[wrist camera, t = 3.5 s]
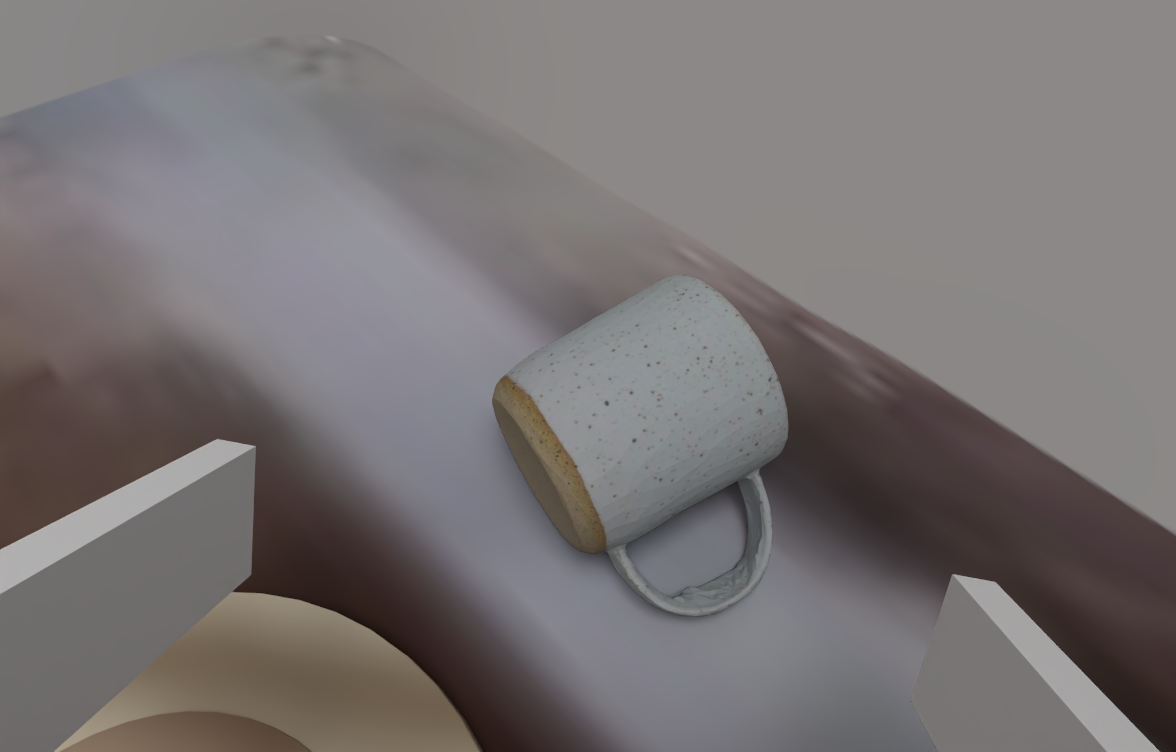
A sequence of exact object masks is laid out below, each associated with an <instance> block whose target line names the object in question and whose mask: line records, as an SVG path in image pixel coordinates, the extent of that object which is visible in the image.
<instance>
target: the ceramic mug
mask: <svg viewBox="0 0 1176 752" xmlns="http://www.w3.org/2000/svg"><path fill="white" fill-rule="evenodd" d="M492 404H493V408H494V412H495V416H496V419H497V422H498V424H499V427H500V429H501V431H502V434H503V436H504V438H505V440H506V442H507V444H508V446H509V448H510V450H511V452H512V454H513V456H514V458H515V460H516V462H517V464H518V466H519V468H520V470H521V471H522V473H523V475H524V477H525V479H526V480H527V482H528V484H529V486H530V488H531V489H532V491H533V492H534V494H535V496H536V497H537V499H538V501H539V502H540V504H541V505H542V507H543V509H544V510H545V511H546V513H547V514H548V516H549V517H550V519H551V520H552V522H553V523H554V525H555V526H556V527H557V529H558V530H559V531H560V533H561V534H562V535H563V536H564V537H565V539H566V540H567V541H568V542H569V543H570V544H571V545H572V546H573V547H575V548H577V549H579V550H580V551H583V552H587V553H592V554H597V553H601V552H608V554H609V556H610V559H611V560H612V562H613V565H614V567H615V569H616V570H617V572H618V573H619V574H620V575H621V577H622V578H623V579H624V580H625V581H626V582H627V583H628V584H629V585H630V587H631V588H632V589H633V590H634V591H635V592H636V593H637V594H638V595H639V596H641V597H642V598H644V599H645V600H646V601H648V602H649V603H651V604H652V605H654V606H656V607H658V608H660V609H662V610H664V611H666V612H670V613H673V614H677V615H683V616H703V615H707V614H713V613H716V612H718V611H721V610H723V609H725V608H727V607H729V606H730V605H732V604H734V603H736V602H738V601H739V600H741V599H742V598H743V597H745V596H746V595H747V594H748V593H749V592H750V591H751V590H752V589H753V588H754V587H755V586H756V585H757V584H758V582H759V581H760V580H761V578H762V576H763V574H764V572H765V570H766V567H767V564H768V561H769V556H770V552H771V547H772V518H771V510H770V506H769V502H768V499H767V495H766V490H765V488H764V485H763V482H762V478H761V476H760V474H759V469H760V468H761V467H762V466H763V465H765V464H767V463H768V462H770V461H771V460H773V459H774V458H775V457H777V456H778V455H779V454H780V453H781V451H782V450H783V447H784V445H785V443H786V441H787V434H788V416H787V407H786V404H785V399H784V395H783V392H782V389H781V385H780V383H779V379H778V376H777V374H776V372H775V370H774V368H773V366H772V364H771V362H770V360H769V357H768V355H767V353H766V352H765V350H764V348H763V346H762V344H761V343H760V341H759V339H758V337H757V336H756V335H755V333H754V332H753V330H752V329H751V327H750V326H749V325H748V323H747V322H746V321H745V319H744V318H743V317H742V316H741V314H740V313H739V312H738V311H737V310H736V309H735V307H734V306H733V305H732V304H731V303H730V302H729V301H728V300H727V299H725V298H724V297H723V296H722V295H721V294H720V293H719V292H718V291H716V290H715V289H713V288H712V287H710V286H709V285H707V284H706V283H704V282H703V281H701V280H699V279H697V278H694V277H691V276H687V275H675V276H670V277H666V278H664V279H662V280H660V281H658V282H656V283H655V284H653V285H651V286H650V287H648V288H646V289H644V290H643V291H641V292H640V293H638V294H637V295H635V296H633V297H631V298H629V299H627V300H626V301H624V302H622V303H620V304H619V305H617V306H615V307H613V308H612V309H610V310H608V311H607V312H605V313H603V314H601V315H599V316H597V317H596V318H594V319H592V320H591V321H589V322H587V323H586V324H584V325H582V326H581V327H579V328H578V329H576V330H574V331H572V332H571V333H569V334H567V335H565V336H563V337H561V338H559V339H557V340H556V341H554V342H552V343H550V344H548V345H546V346H545V347H543V348H541V349H539V350H538V351H536V352H534V353H533V354H531V355H530V356H528V357H527V358H525V359H524V360H523V361H521V362H520V363H519V364H518V365H517V366H515V367H514V368H513V369H512V370H511V371H509V372H508V373H507V374H506V375H505V376H503V377H502V378H501V379H500V381H499V382H498V383H497V385H496V387H495V390H494V394H493V399H492ZM736 481H738V483H739V487H740V490H741V492H742V495H743V499H744V503H745V507H746V513H747V521H748V528H749V529H748V539H747V546H746V549H745V553H744V556H743V557H742V559H741V561H740V562H738V563H737V565H736V566H735V568H734V569H733V570H732V571H730V572H727V573H726V574H724V575H722V576H720V577H718V578H716V579H715V580H713V581H711V582H709V583H707V584H705V585H702V586H699V587H697V588H694V587H687V588H686V589H685V590H683V591H682V593H681V595H679V596H675V597H668V596H666V595H664V594H662V593H660V592H659V591H657V590H656V589H653V588H651V587H650V586H649V584H648V583H647V582H646V580H645V579H644V578H643V577H642V575H641V574H640V573H639V572H638V570H637V569H636V568H635V567H634V565H633V563H632V560H631V559H630V558H629V556H628V555H627V552H626V548H625V547H626V545H627V544H628V543H629V542H631V541H633V540H635V539H637V538H639V537H641V536H643V535H645V534H646V533H648V532H650V531H651V530H653V529H655V528H656V527H658V526H659V525H661V524H663V523H664V522H666V521H667V520H668V519H670V518H671V517H673V516H675V515H676V514H678V513H680V512H682V511H684V510H685V509H687V508H689V507H691V506H693V505H695V504H696V503H699V502H701V501H702V500H704V499H706V498H707V497H709V496H711V495H713V494H714V493H716V492H719V491H721V490H722V489H724V488H725V487H727V486H729V485H731V484H733V483H735V482H736Z"/></svg>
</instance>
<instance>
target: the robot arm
mask: <svg viewBox="0 0 1176 752" xmlns="http://www.w3.org/2000/svg"><path fill="white" fill-rule="evenodd" d="M255 450H256V446H251V445H246V444H240V443H235V442H230V441H224V440H219V439H216V440H214V441H213V442H211V443H209V444H207V445H205V446H203V447H201V448H199V449H197V450H195V451H193V452H191V453H189V454H187V455H185V456H183V457H181V458H179V459H177V460H175V461H173V462H171V463H169V464H167V465H165V466H164V467H162V468H160V469H158V470H156V471H154V472H152V473H150V474H148V475H146V476H144V477H142V478H140V479H138V480H136V481H134V482H132V483H130V484H128V485H126V486H124V487H122V488H120V489H118V490H116V491H114V492H113V493H111V494H109V495H107V496H105V497H103V498H101V499H99V500H97V501H95V502H93V503H91V504H89V505H87V506H85V507H83V508H81V509H79V510H77V511H75V512H73V513H71V514H69V515H67V516H65V517H64V518H62V519H60V520H58V521H56V522H54V523H52V524H50V525H48V526H46V527H44V528H42V529H40V530H38V531H36V532H34V533H32V534H30V535H28V536H26V537H24V538H22V539H20V540H18V541H16V542H14V543H13V544H11V545H9V546H7V547H5V548H3V549H1V550H0V752H54V751H55V750H56V749H57V748H58V747H60V746H61V745H62V744H63V743H64V742H65V741H66V740H67V739H68V738H70V737H71V736H72V735H73V734H74V733H75V732H76V731H77V730H78V729H80V728H81V727H82V726H83V725H84V724H85V723H86V722H87V721H88V720H90V719H91V718H92V717H93V716H94V715H95V714H96V713H97V712H99V711H100V710H101V709H102V708H103V707H104V706H105V705H106V704H107V703H109V702H110V701H111V700H112V699H113V698H114V697H115V696H116V695H117V694H119V693H120V692H121V691H122V690H123V689H124V688H125V687H126V686H127V685H129V684H130V683H131V682H132V681H133V680H134V679H135V678H136V677H138V676H139V675H140V674H141V673H142V672H143V671H144V670H145V669H146V668H148V667H149V666H150V665H151V664H152V663H153V662H154V661H155V660H156V659H158V658H159V657H160V656H161V655H162V654H163V653H164V652H165V651H166V650H168V649H169V648H170V647H171V646H172V645H173V644H174V643H175V642H176V641H178V640H179V639H180V638H181V637H182V636H183V635H184V634H185V633H187V632H188V631H189V630H190V629H191V628H192V627H193V626H194V625H195V624H197V623H198V622H199V621H200V620H201V619H202V618H203V617H204V616H205V615H207V614H208V613H209V612H210V611H211V610H212V609H213V608H214V607H215V606H217V605H218V604H219V603H220V602H221V601H222V600H223V599H224V598H226V597H227V596H228V595H229V594H230V593H231V592H232V591H233V590H234V589H236V588H237V587H238V586H239V585H240V584H241V583H242V582H243V581H244V580H246V579H247V578H248V577H249V576H250V575H251V563H252V535H253V506H254V478H255ZM911 703H912V705H913V707H914V709H915V711H916V713H917V714H918V716H919V718H920V720H921V722H922V723H923V725H924V727H925V729H926V731H927V732H928V734H929V736H930V738H931V740H932V742H933V743H934V745H935V747H936V749H937V751H938V752H1160V751H1159V750H1158V749H1157V748H1156V747H1155V746H1154V745H1153V744H1152V743H1151V742H1150V741H1149V740H1148V739H1147V738H1146V737H1145V736H1144V735H1143V734H1142V733H1141V732H1140V731H1139V730H1138V729H1137V728H1136V727H1135V726H1134V725H1133V724H1132V723H1131V722H1130V720H1129V719H1128V718H1127V717H1126V716H1125V715H1124V714H1123V713H1122V712H1121V711H1120V710H1119V709H1118V708H1117V707H1116V706H1115V705H1114V704H1113V703H1112V702H1111V701H1110V700H1109V699H1108V698H1107V697H1106V696H1105V695H1104V694H1103V693H1102V692H1101V691H1100V690H1099V689H1098V687H1097V686H1096V685H1095V684H1094V683H1093V682H1092V681H1091V680H1090V679H1089V678H1088V677H1087V676H1086V675H1085V674H1084V673H1083V672H1082V671H1081V670H1080V669H1079V668H1078V667H1077V666H1076V665H1075V664H1074V663H1073V662H1072V661H1071V660H1070V659H1069V658H1068V657H1067V656H1066V654H1065V653H1064V652H1063V651H1062V650H1061V649H1060V648H1059V647H1058V646H1057V645H1056V644H1055V643H1054V642H1053V641H1052V640H1051V639H1050V638H1049V637H1048V636H1047V635H1046V634H1045V633H1044V632H1043V631H1042V630H1041V629H1040V628H1039V627H1038V626H1037V625H1036V624H1035V623H1034V621H1033V620H1032V619H1031V618H1030V617H1029V616H1028V615H1027V614H1026V613H1025V612H1024V611H1023V610H1022V609H1021V608H1020V607H1019V606H1018V605H1017V604H1016V603H1015V602H1014V601H1013V600H1012V599H1011V598H1010V597H1009V596H1008V595H1007V594H1006V593H1005V592H1004V591H1003V590H1002V588H1001V587H1000V586H999V585H998V584H997V583H996V582H992V581H987V580H981V579H976V578H970V577H965V576H960V575H954V574H952V577H951V580H950V583H949V586H948V589H947V592H946V595H945V598H944V601H943V604H942V607H941V610H940V614H939V617H938V620H937V623H936V626H935V629H934V632H933V635H932V638H931V641H930V644H929V647H928V650H927V653H926V656H925V659H924V662H923V665H922V668H921V671H920V674H919V677H918V680H917V684H916V687H915V690H914V693H913V696H912V699H911Z"/></svg>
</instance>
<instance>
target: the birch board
mask: <svg viewBox="0 0 1176 752" xmlns="http://www.w3.org/2000/svg"><path fill="white" fill-rule="evenodd" d="M54 752H483V750H482V748H481V746H480V745H479V743H478V741H477V739H476V737H475V736H474V734H473V732H472V730H471V729H470V727H469V725H468V723H467V721H466V720H465V718H464V717H463V716H462V714H461V713H460V712H459V710H458V709H457V708H456V707H455V705H454V704H453V703H452V701H451V700H450V699H449V697H448V696H447V695H446V693H445V692H444V691H443V689H442V688H441V687H440V686H439V685H438V684H437V683H436V682H435V681H434V680H433V679H432V678H431V677H430V676H429V675H428V674H427V673H426V672H425V671H424V670H423V669H422V668H421V667H420V666H419V665H418V664H417V663H416V662H415V661H413V660H412V659H411V658H409V657H408V656H406V655H405V654H404V653H402V652H401V651H400V650H398V649H397V648H395V647H394V646H393V645H391V644H390V643H388V642H387V641H386V640H384V639H383V638H382V637H380V636H379V635H377V634H376V633H375V632H373V631H372V630H370V629H368V628H366V627H364V626H362V625H360V624H358V623H356V622H354V621H352V620H351V619H349V618H347V617H345V616H343V615H341V614H339V613H337V612H334V611H331V610H328V609H325V608H322V607H319V606H316V605H313V604H310V603H307V602H304V601H301V600H296V599H290V598H285V597H279V596H273V595H268V594H262V593H236V592H231V593H230V594H229V595H228V596H227V597H226V598H224V599H223V600H222V601H221V602H220V603H219V604H218V605H217V606H215V607H214V608H213V609H212V610H211V611H210V612H209V613H208V614H207V615H205V616H204V617H203V618H202V619H201V620H200V621H199V622H198V623H197V624H195V625H194V626H193V627H192V628H191V629H190V630H189V631H188V632H187V633H185V634H184V635H183V636H182V637H181V638H180V639H179V640H178V641H176V642H175V643H174V644H173V645H172V646H171V647H170V648H169V649H168V650H166V651H165V652H164V653H163V654H162V655H161V656H160V657H159V658H158V659H156V660H155V661H154V662H153V663H152V664H151V665H150V666H149V667H148V668H146V669H145V670H144V671H143V672H142V673H141V674H140V675H139V676H138V677H136V678H135V679H134V680H133V681H132V682H131V683H130V684H129V685H127V686H126V687H125V688H124V689H123V690H122V691H121V692H120V693H119V694H117V695H116V696H115V697H114V698H113V699H112V700H111V701H110V702H109V703H107V704H106V705H105V706H104V707H103V708H102V709H101V710H100V711H99V712H97V713H96V714H95V715H94V716H93V717H92V718H91V719H90V720H88V721H87V722H86V723H85V724H84V725H83V726H82V727H81V728H80V729H78V730H77V731H76V732H75V733H74V734H73V735H72V736H71V737H70V738H68V739H67V740H66V741H65V742H64V743H63V744H62V745H61V746H60V747H58V748H57V749H56V750H55V751H54Z"/></svg>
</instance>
